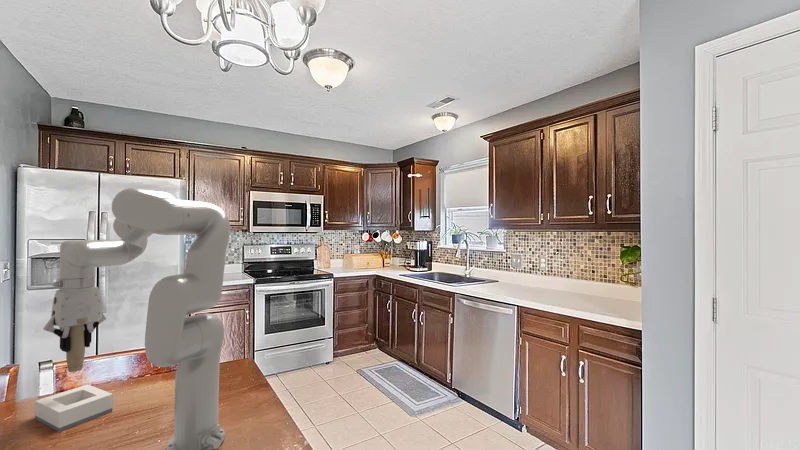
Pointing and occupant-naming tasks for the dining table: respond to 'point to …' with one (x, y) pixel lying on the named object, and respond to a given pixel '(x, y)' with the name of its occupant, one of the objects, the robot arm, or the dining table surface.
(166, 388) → the dining table surface
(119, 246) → the robot arm
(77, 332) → the handle
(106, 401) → the socket stand
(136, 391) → the dining table surface
